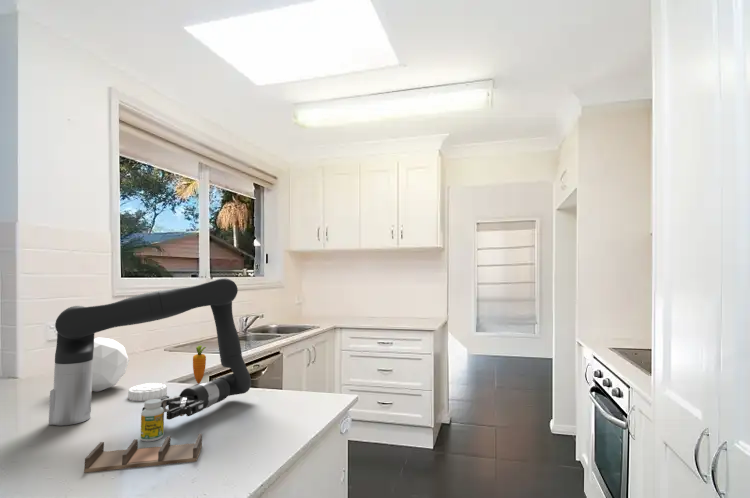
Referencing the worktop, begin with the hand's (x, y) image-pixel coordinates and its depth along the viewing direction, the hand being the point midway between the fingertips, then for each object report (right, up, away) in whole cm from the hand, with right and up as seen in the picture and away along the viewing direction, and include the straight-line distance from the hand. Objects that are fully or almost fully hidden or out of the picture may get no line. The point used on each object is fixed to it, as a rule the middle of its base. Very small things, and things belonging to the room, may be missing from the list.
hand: (155, 413), depth 112 cm
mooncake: (-22, -8, +37) cm, 43 cm away
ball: (-44, -8, +44) cm, 63 cm away
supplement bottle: (0, -6, -1) cm, 6 cm away
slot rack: (+5, -5, -13) cm, 15 cm away
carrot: (-11, -9, +53) cm, 55 cm away
